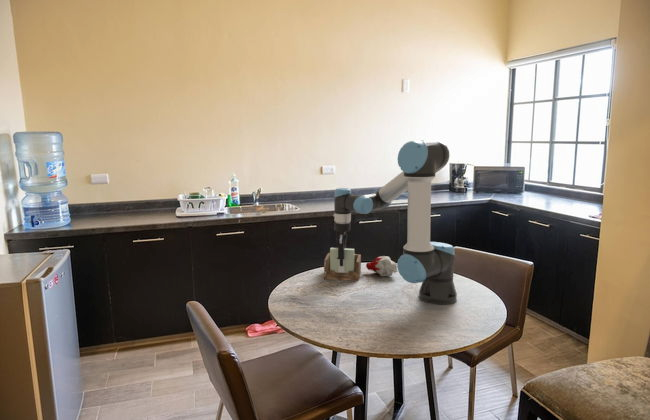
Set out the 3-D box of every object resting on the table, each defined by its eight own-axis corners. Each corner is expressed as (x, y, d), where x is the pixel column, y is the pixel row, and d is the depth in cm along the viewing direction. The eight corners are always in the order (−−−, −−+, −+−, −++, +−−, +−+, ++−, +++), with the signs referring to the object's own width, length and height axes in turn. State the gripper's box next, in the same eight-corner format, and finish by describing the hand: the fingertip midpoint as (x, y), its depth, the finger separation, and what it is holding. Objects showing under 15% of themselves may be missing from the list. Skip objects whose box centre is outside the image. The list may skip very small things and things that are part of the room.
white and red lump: (397, 277, 207) (365, 279, 209) (398, 270, 218) (367, 271, 220) (396, 259, 205) (363, 261, 208) (396, 252, 216) (365, 254, 219)
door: (330, 271, 208) (330, 249, 205) (330, 270, 210) (330, 247, 208) (353, 273, 206) (353, 250, 204) (354, 271, 208) (354, 248, 206)
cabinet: (360, 272, 216) (360, 254, 214) (358, 281, 203) (358, 262, 202) (328, 270, 218) (328, 252, 217) (323, 279, 206) (323, 261, 204)
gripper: (336, 218, 211) (336, 265, 216) (331, 225, 196) (331, 276, 201) (352, 218, 210) (351, 266, 215) (348, 226, 195) (348, 277, 200)
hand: (341, 271), depth 208 cm, fingers closed on door, 2 cm apart
